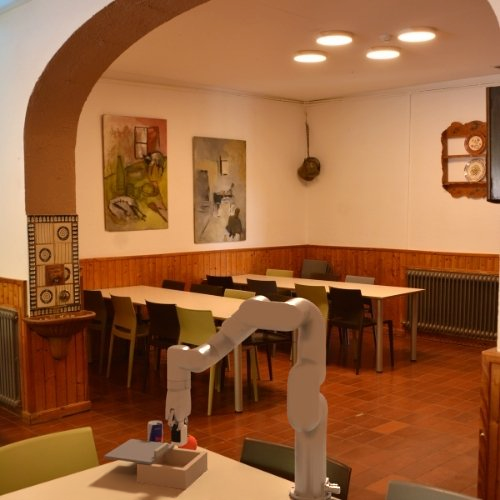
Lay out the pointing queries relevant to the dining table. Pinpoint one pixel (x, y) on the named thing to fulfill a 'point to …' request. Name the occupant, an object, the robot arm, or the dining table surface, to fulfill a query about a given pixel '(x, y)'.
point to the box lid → (139, 451)
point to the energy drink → (155, 431)
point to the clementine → (190, 443)
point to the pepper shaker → (183, 434)
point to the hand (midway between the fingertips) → (179, 438)
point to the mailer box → (174, 468)
